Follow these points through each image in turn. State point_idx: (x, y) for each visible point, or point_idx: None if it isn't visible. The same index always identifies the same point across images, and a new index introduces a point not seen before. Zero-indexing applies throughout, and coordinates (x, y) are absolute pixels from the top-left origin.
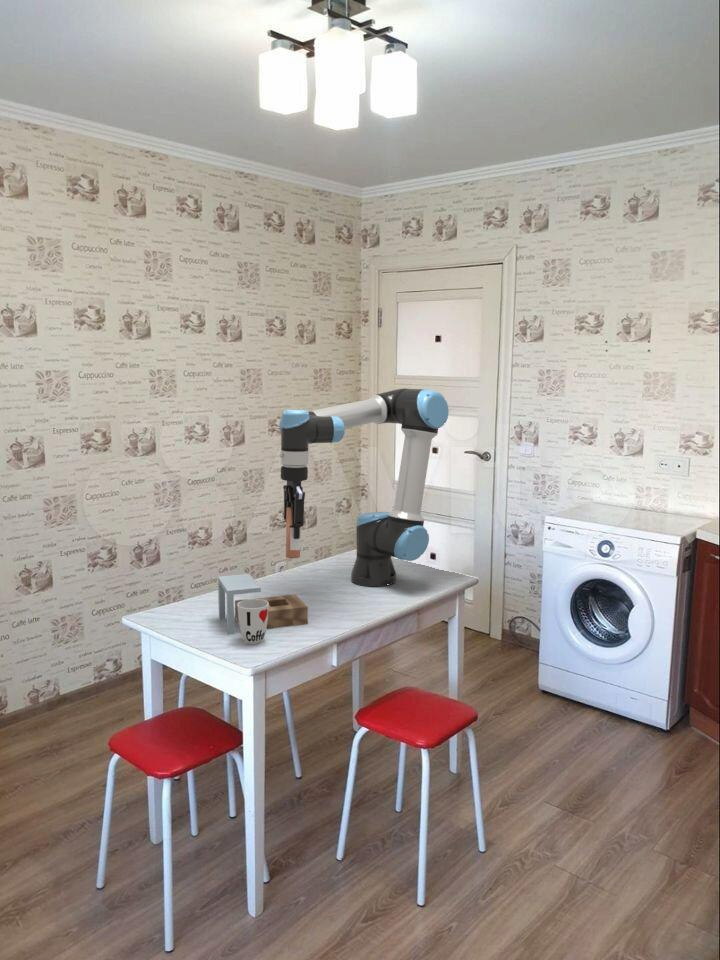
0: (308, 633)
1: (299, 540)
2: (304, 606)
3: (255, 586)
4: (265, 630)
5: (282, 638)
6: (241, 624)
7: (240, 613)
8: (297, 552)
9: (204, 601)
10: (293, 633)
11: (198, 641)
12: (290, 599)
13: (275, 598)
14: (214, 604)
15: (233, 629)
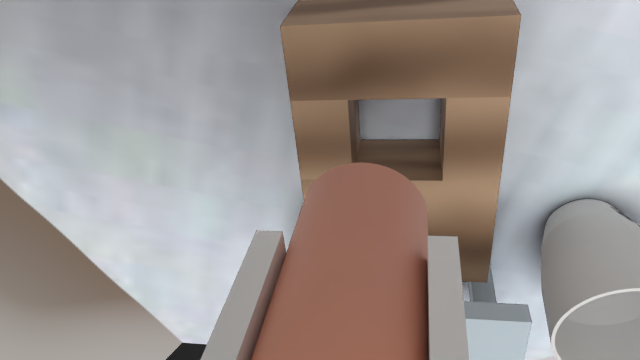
0: (633, 16)
1: (464, 325)
2: (506, 30)
3: (499, 334)
4: (633, 223)
5: (625, 135)
6: (616, 316)
7: (631, 356)
8: (424, 230)
9: (147, 274)
10: (593, 81)
11: None
12: (362, 74)
13: (326, 136)
14: (179, 256)
15: (491, 277)
